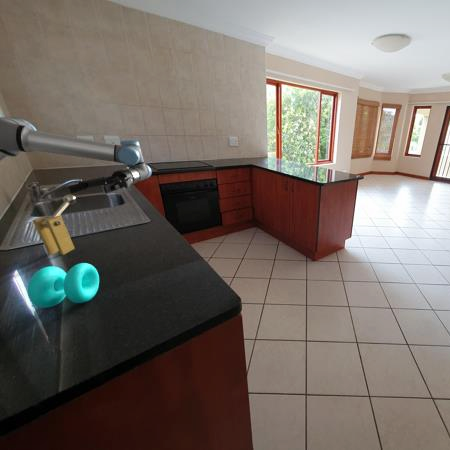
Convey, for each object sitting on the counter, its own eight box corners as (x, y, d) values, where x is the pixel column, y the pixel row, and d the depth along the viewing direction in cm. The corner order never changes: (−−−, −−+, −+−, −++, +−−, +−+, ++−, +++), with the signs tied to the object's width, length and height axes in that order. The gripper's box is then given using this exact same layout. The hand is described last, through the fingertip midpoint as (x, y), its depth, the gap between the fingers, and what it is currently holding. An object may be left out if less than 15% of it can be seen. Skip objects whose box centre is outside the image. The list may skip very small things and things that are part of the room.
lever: (71, 199, 86) (64, 192, 84) (80, 199, 87) (73, 192, 84) (45, 229, 78) (36, 223, 75) (56, 229, 78) (47, 223, 75)
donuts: (63, 290, 65) (48, 259, 61) (105, 285, 67) (93, 255, 63) (35, 317, 56) (16, 283, 52) (85, 310, 58) (70, 277, 54)
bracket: (64, 247, 87) (49, 212, 81) (87, 247, 87) (73, 212, 81) (37, 262, 77) (17, 224, 72) (62, 262, 77) (44, 224, 72)
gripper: (96, 169, 110) (52, 180, 90) (149, 169, 109) (116, 180, 90) (102, 185, 113) (60, 198, 94) (153, 185, 112) (122, 199, 93)
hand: (87, 189), depth 92 cm, fingers open, 13 cm apart
